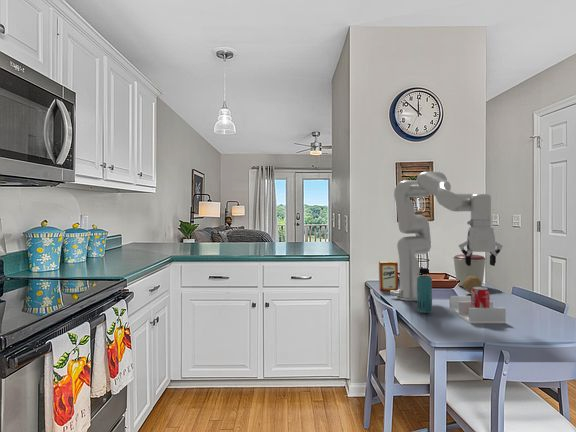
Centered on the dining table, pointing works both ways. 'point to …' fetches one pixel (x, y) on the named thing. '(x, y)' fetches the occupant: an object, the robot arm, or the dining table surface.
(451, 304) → the white holder
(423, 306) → the beverage bottle
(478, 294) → the soda can
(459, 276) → the canister
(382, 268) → the baking soda box
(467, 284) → the natural sponge
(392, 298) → the dining table surface
